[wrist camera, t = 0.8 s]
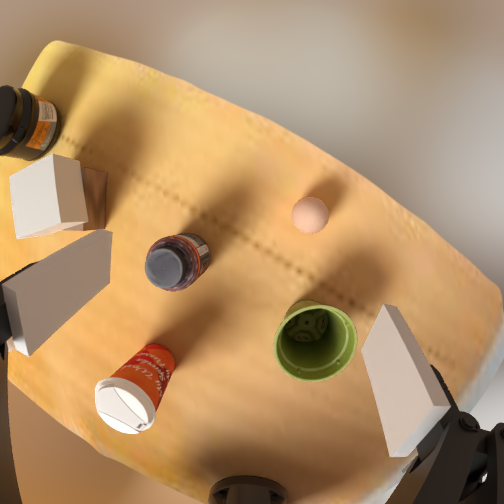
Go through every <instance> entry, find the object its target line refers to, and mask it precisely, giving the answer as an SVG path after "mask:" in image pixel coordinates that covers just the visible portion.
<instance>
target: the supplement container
mask: <svg viewBox="0 0 504 504" xmlns="http://www.w3.org/2000/svg"><path fill="white" fill-rule="evenodd" d="M60 122H61V121H60V113H59V110H58V108H57V107H56V105H55V104H54V103H52V102H50V101H48V100H45V99H43V98H41V97H39V96H37V95H35V94H32V93H30V92H29V91H28V90H26V89H23V88H18V89H15V88H13V87H11V86H8V85H5V86H1V87H0V156H8V157H13V158H19V159H23V160H26V161H35V160H38V159H40V158H42V157H43V156H44V155H45V154H47V153H48V151H49V150H50V149H51V148H52V146H53V145H54V143H55V141H56V139H57V136H58V133H59V130H60Z"/></svg>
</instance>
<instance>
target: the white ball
mask: <svg viewBox="0 0 504 504" xmlns="http://www.w3.org/2000/svg"><path fill="white" fill-rule="evenodd" d="M7 345H8V352H10V351H12V350H13V349H14V348H15V346H14V342H13V338H12V337H11V338H10V339H8V340H7Z"/></svg>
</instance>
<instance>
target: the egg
mask: <svg viewBox="0 0 504 504" xmlns="http://www.w3.org/2000/svg"><path fill="white" fill-rule="evenodd" d="M328 219H329V212H328V209H327V206H326V205H325V204H324V202H323V201H321V200H320V199H318V198H315V197H305V198H302V199H300V200H299V201H298V202H297V203H296V204H295V205H294V207H293V210H292V220H293V223H294V225H295V226H296V227H297V228H298V229H299V230H300V231H302V232H304V233H308V234H313V233H317V232H319V231H321V230H322V229H323V228H324V227H325V226H326V224H327V222H328Z"/></svg>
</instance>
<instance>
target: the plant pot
mask: <svg viewBox="0 0 504 504" xmlns="http://www.w3.org/2000/svg"><path fill="white" fill-rule="evenodd" d="M290 319H291V320H290ZM323 319H324V320H325V322H324V327H323V328H321V326H322V322H323ZM289 320H290V325H289V324H288V321H289ZM306 321H308V322H309V323H308V324H305V322H306ZM299 336H302V337H308V338H307V339H300V338H298V337H299ZM356 347H357V331H356V328H355V326H354V324H353V322H352V320H351V319H350V318H349V316H348V315H347V314H345V313H344V312H343V311H341V310H339V309H338V308H335V307H333V306H329V305H321V304H320V303H318V302H315V301H312V300H304V301H300V302H298V303H296V304H294V305H293V306H292V307H291V308H289V310H288V311H287V313H286V315H285V318H284V321H283V322H282V323H281V324H280V326H279V328H278V329H277V332H276V334H275V337H274V343H273V351H274V356H275V359H276V362H277V364H278V365H279V367H280V368H281V369H282V370H283V372H285V373H286V374H287V375H288V376H290V377H292V378H294V379H296V380H299V381H303V382H319V381H323V380H327V379H330V378H332V377H334V376H335V375H337V374H339V373H340V372H341V371H342V370H343V369H344V368H345V367H346V366H347V365H348V364H349V363H350V361H351V360H352V358H353V356H354V354H355V351H356Z"/></svg>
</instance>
